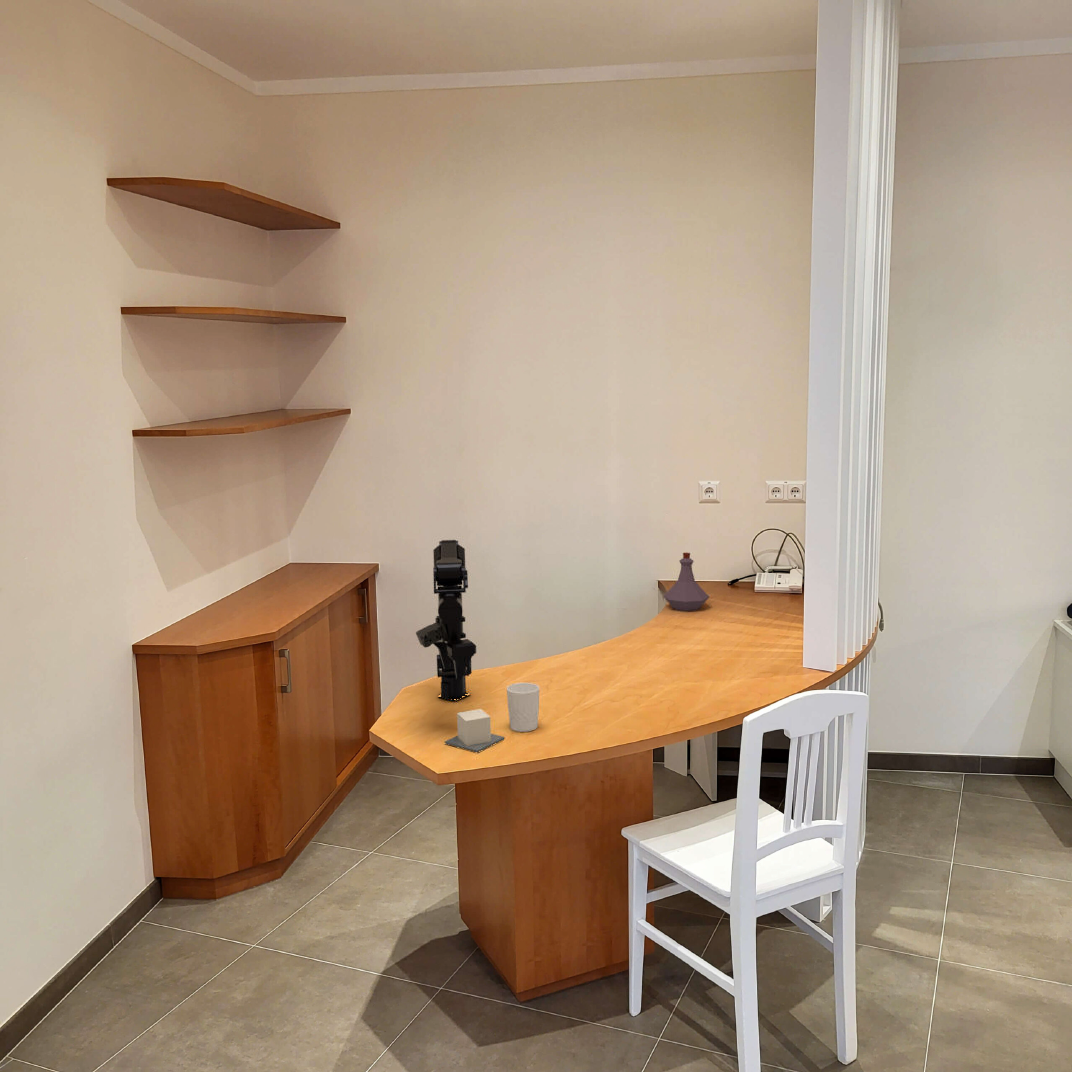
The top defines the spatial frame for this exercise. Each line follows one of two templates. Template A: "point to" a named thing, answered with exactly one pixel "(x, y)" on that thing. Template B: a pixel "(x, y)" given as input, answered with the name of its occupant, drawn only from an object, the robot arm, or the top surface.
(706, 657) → the top surface
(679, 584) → the flask
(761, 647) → the top surface
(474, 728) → the cube
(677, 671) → the top surface
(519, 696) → the white cup
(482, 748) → the coaster
